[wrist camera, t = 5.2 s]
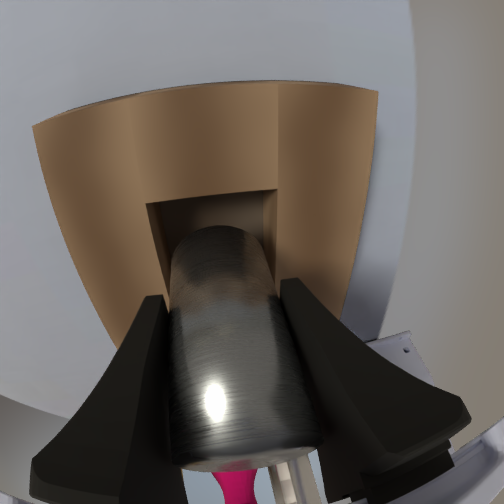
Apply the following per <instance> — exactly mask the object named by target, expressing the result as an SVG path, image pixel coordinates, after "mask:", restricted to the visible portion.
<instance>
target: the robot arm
mask: <svg viewBox="0 0 504 504" xmlns="http://www.w3.org/2000/svg"><path fill="white" fill-rule="evenodd" d="M279 300H280V303H281V306H282V309H283V312H284V315H285V318H286V321H287V324H288V327H289V330H290V333H291V337H292V340H293V343H294V346H295V349H296V352H297V355H298V358H299V361H300V365H301V368H302V371H303V374H304V377H305V380H306V383H307V386H308V390H309V393H310V396H311V399H312V402H313V405H314V409H315V412H316V415H317V418H318V421H319V425H320V428H321V431H322V434H323V437H324V443H323V444H322V445H321V446H320V447H319V448H317V451H318V456H319V461H320V466H321V472H322V477H323V482H324V489H325V495H326V498H327V501H328V504H329V503H333V502H336V501H339V500H343V499H346V498H348V497H350V498H351V501H352V503H349V504H489V503H490V502H491V501H492V500H493V499H494V498H495V497H496V496H497V494H498V493H499V492H500V491H501V490H502V489H503V488H504V416H503V417H502V418H501V419H500V420H499V421H497V422H496V423H495V424H493V425H492V426H491V427H490V428H488V429H487V430H485V431H484V432H482V433H481V434H480V435H478V436H477V437H475V438H474V439H473V440H471V441H470V442H469V443H467V444H465V445H464V446H462V447H461V448H460V449H459V450H458V451H456V452H455V450H454V448H453V445H452V443H451V441H450V438H451V437H452V436H454V435H455V434H456V433H458V432H459V431H460V430H462V429H463V428H464V427H466V426H467V425H468V424H469V423H470V422H471V416H470V414H469V412H468V410H467V408H466V406H465V405H464V403H463V401H462V399H461V398H460V397H459V396H456V395H454V394H451V393H449V392H446V391H444V390H442V389H439V388H437V387H435V386H434V382H433V379H432V376H431V375H430V373H429V371H428V369H427V367H426V366H425V364H424V362H423V360H422V359H421V357H420V355H419V354H418V352H417V350H416V348H415V347H414V345H413V343H412V342H411V340H410V336H411V332H410V331H405V332H402V333H399V334H396V335H393V336H389V337H386V338H382V339H379V340H375V341H371V342H368V343H364V342H363V341H362V340H360V339H359V338H358V337H357V336H356V335H355V334H353V333H352V332H351V331H350V330H349V329H348V328H347V327H346V326H345V325H343V324H342V323H341V322H340V321H339V320H338V319H337V318H336V317H335V316H334V315H333V314H332V313H331V312H330V311H329V310H328V309H327V308H326V307H325V306H324V305H323V304H322V303H321V302H320V301H319V300H318V299H317V298H316V297H315V295H314V294H313V293H312V292H311V291H310V290H309V289H308V288H307V287H306V286H305V284H304V283H303V282H302V281H301V280H300V279H299V278H298V277H296V278H289V279H282V280H280V299H279ZM168 321H169V313H168V309H167V306H166V303H165V300H164V297H163V294H160V295H150V296H146V297H145V298H144V299H143V301H142V303H141V306H140V308H139V310H138V312H137V314H136V316H135V318H134V320H133V322H132V324H131V326H130V328H129V330H128V332H127V334H126V336H125V337H124V339H123V341H122V343H121V345H120V347H119V349H118V351H117V352H116V354H115V356H114V357H113V359H112V361H111V363H110V364H109V366H108V368H107V369H106V371H105V373H104V374H103V376H102V377H101V379H100V380H99V382H98V383H97V385H96V386H95V388H94V389H93V391H92V392H91V394H90V395H89V396H88V398H87V399H86V400H85V402H84V403H83V404H82V406H81V407H80V408H79V410H78V411H77V412H76V413H75V415H74V416H73V417H72V418H71V419H70V421H69V422H68V423H67V424H66V425H65V426H64V427H63V429H62V430H61V431H60V432H59V433H58V434H57V435H56V436H55V437H54V438H53V439H52V440H51V441H50V442H49V443H48V444H47V445H46V446H45V447H44V448H43V449H42V450H41V451H40V452H39V453H38V454H37V455H36V456H35V457H33V458H32V462H31V472H30V489H29V494H30V496H31V497H32V498H35V499H38V500H40V501H43V502H46V503H49V504H188V500H187V495H186V491H185V487H184V482H183V476H182V471H181V468H179V467H177V466H175V465H173V463H172V457H171V444H170V426H169V402H168ZM0 504H33V503H30V502H27V501H24V500H22V499H18V498H16V497H14V496H11V495H9V494H7V493H4V492H2V491H0Z"/></svg>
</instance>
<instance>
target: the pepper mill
mask: <svg viewBox="0 0 504 504" xmlns="http://www.w3.org/2000/svg"><path fill="white" fill-rule="evenodd" d="M211 473H212V474H213V476H214V477H215V478H216V480H217V481H218V483H219V484H220V486H221V489H222V491H223V494H224V499H225V504H257V501H256V499H255V495H254V480H255V476H256V473H257V469H252V470H245V471H235V472H211Z"/></svg>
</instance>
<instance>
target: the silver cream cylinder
mask: <svg viewBox="0 0 504 504" xmlns="http://www.w3.org/2000/svg"><path fill="white" fill-rule="evenodd" d="M268 471H269V475H270V480H271V484H272V488H273V493H274V497H275V501H276V504H322V503H321V500H320V496H319V493H318V489H317V485H316V482H315V479H314V475H313V471H312V469H311V465H310V461H309V458H308V454H306V455H304V456H301V457H299V458H296V459H293V460H290V461H287V462H284V463H280V464H277V465H273V466H268Z"/></svg>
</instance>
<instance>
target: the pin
mask: <svg viewBox="0 0 504 504" xmlns="http://www.w3.org/2000/svg"><path fill="white" fill-rule="evenodd" d="M168 402H169V426H170V444H171V457H172V463H173V465H175V466H177V467H179V468H182V469H186V470H192V471H199V472H235V471H245V470H252V469H258V468H263V467H268V466H273V465H277V464H280V463H284V462H287V461H290V460H293V459H296V458H299V457H301V456H304V455H306V454H308V453H310V452H312V451H314V450H316V449H317V448H319V447H320V446H321V445H322V444H323V443H324V437H323V434H322V431H321V428H320V425H319V421H318V418H317V415H316V412H315V409H314V405H313V402H312V399H311V396H310V393H309V390H308V386H307V383H306V380H305V377H304V374H303V371H302V368H301V365H300V361H299V358H298V355H297V352H296V349H295V346H294V343H293V340H292V337H291V333H290V330H289V327H288V324H287V321H286V318H285V315H284V312H283V309H282V306H281V303H280V300H279V297H278V294H277V291H276V288H275V285H274V282H273V278H272V275H271V272H270V269H269V266H268V263H267V260H266V257H265V254H264V251H263V248H262V246H261V245H260V243H259V242H258V240H257V239H256V238H255V237H254V236H252V235H251V234H250V233H248V232H246V231H244V230H242V229H240V228H237V227H233V226H226V225H216V226H209V227H205V228H202V229H199V230H196V231H194V232H192V233H191V234H189V235H188V236H186V237H185V238H184V239H183V240H182V241H181V242H180V243H179V244H178V246H177V247H176V249H175V251H174V253H173V256H172V262H171V277H170V295H169V321H168Z"/></svg>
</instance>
